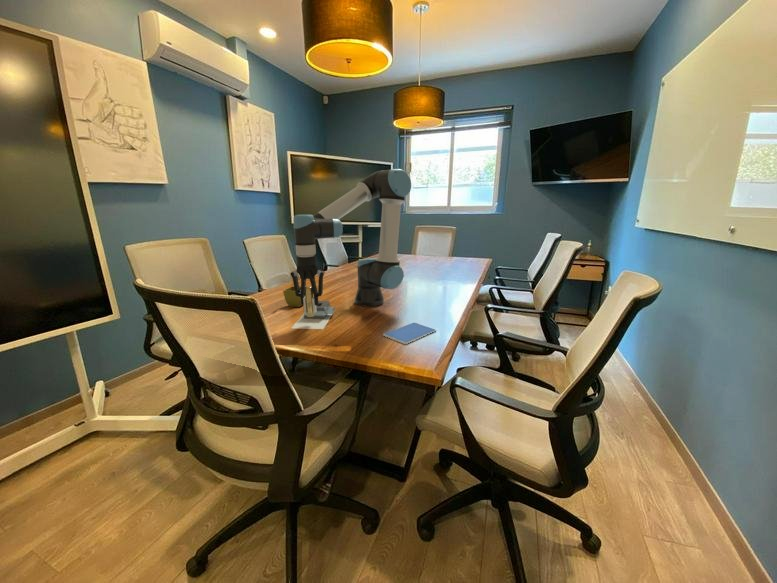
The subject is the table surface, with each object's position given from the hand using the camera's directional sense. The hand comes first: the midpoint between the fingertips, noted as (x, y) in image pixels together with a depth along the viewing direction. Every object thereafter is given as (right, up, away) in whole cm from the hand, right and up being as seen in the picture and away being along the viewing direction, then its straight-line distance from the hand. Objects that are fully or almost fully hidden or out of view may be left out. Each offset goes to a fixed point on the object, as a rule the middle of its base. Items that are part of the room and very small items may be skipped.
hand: (310, 312), depth 132 cm
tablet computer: (+41, -9, -4) cm, 42 cm away
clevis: (+2, -2, +12) cm, 13 cm away
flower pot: (-14, +1, +30) cm, 33 cm away
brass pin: (0, -1, 0) cm, 1 cm away
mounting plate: (0, -5, +7) cm, 9 cm away
